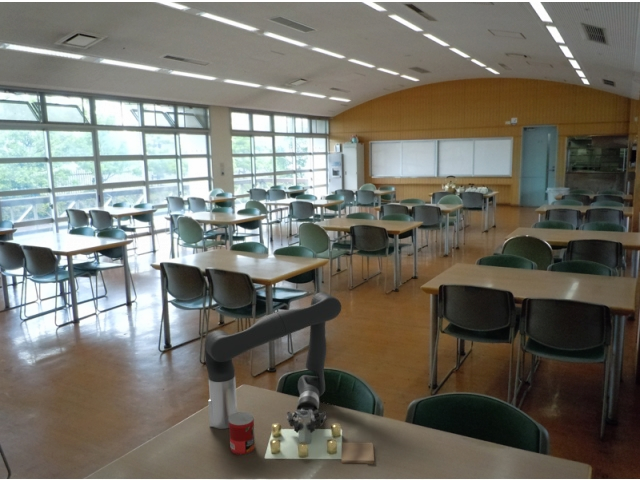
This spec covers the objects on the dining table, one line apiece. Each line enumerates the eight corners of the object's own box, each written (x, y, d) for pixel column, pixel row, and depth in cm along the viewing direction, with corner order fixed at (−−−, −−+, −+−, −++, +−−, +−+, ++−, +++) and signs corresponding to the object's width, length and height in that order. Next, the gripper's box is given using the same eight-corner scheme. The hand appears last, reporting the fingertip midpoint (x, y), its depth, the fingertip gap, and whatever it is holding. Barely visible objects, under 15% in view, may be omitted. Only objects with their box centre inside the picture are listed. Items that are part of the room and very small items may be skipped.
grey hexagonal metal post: (298, 445, 171) (297, 416, 170) (299, 437, 176) (298, 409, 174) (310, 445, 171) (310, 416, 170) (311, 437, 176) (311, 409, 174)
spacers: (265, 457, 165) (265, 447, 164) (272, 432, 180) (272, 423, 179) (340, 458, 163) (339, 447, 163) (340, 432, 178) (340, 423, 178)
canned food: (250, 456, 166) (249, 424, 165) (226, 454, 168) (224, 422, 166) (258, 443, 174) (256, 412, 172) (235, 441, 175) (233, 410, 174)
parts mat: (264, 459, 164) (264, 458, 164) (272, 430, 182) (272, 429, 182) (341, 460, 163) (341, 458, 163) (342, 430, 181) (342, 429, 181)
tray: (341, 463, 161) (341, 460, 161) (341, 446, 171) (341, 442, 171) (374, 464, 160) (374, 460, 160) (372, 446, 170) (372, 442, 170)
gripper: (287, 395, 187) (281, 419, 170) (328, 395, 186) (325, 419, 169) (288, 415, 188) (282, 440, 171) (328, 415, 187) (326, 441, 170)
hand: (304, 429), depth 170 cm, fingers closed on grey hexagonal metal post, 4 cm apart
